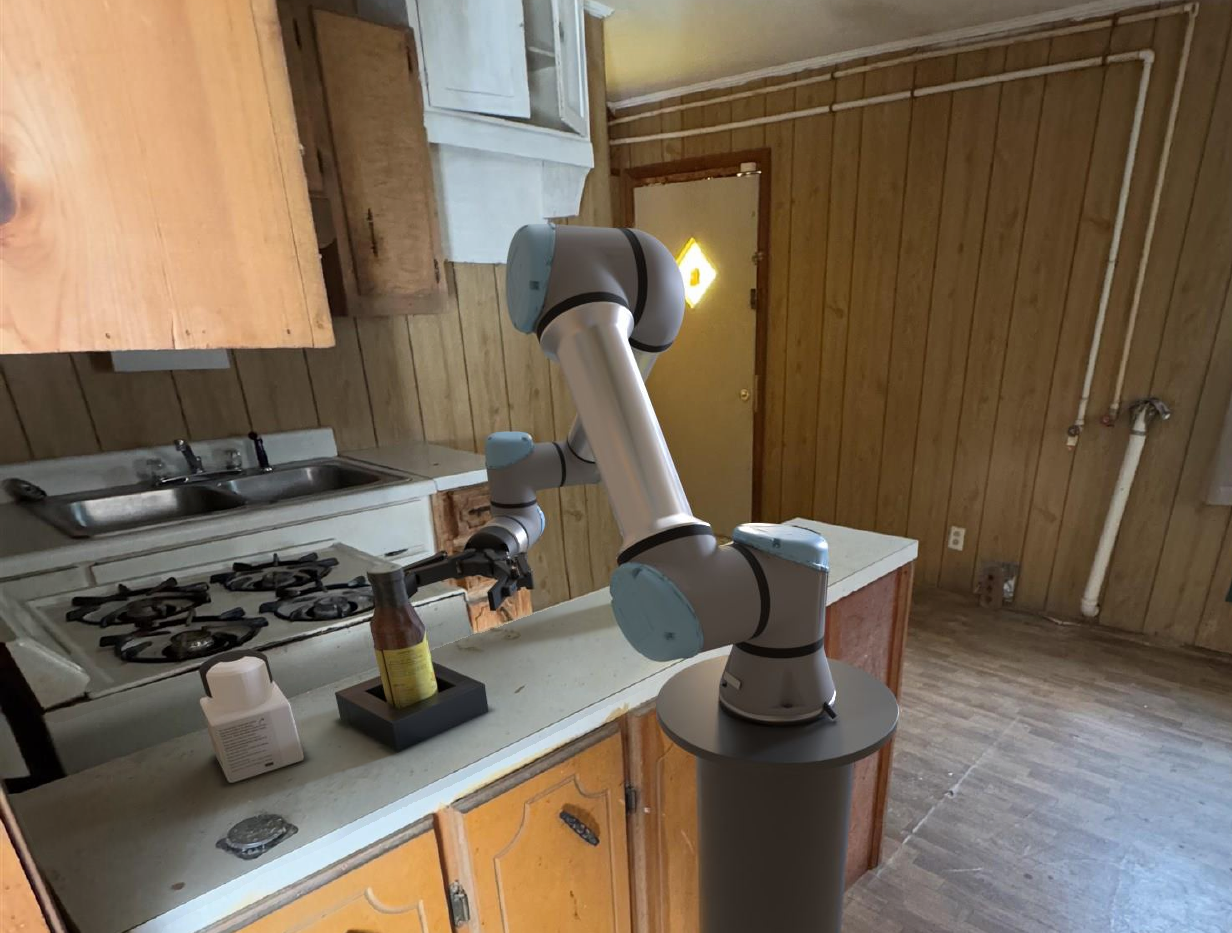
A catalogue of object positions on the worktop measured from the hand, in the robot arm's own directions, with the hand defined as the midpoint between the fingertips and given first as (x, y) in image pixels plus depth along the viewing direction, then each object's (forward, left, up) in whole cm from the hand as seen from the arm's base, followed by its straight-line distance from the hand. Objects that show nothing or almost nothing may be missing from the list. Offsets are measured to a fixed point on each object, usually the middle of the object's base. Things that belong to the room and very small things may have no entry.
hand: (441, 600), depth 104 cm
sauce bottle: (-4, +9, -13) cm, 16 cm away
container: (+1, +26, -13) cm, 29 cm away
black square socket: (-4, +9, -12) cm, 16 cm away
